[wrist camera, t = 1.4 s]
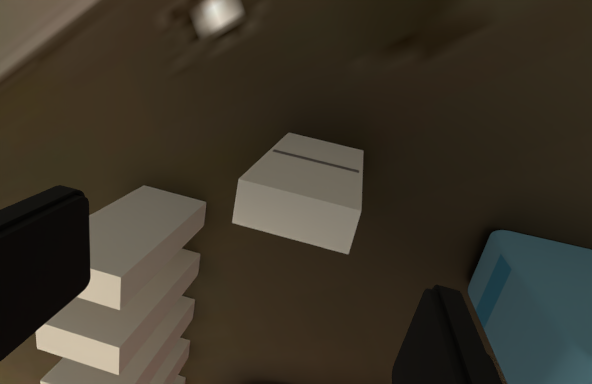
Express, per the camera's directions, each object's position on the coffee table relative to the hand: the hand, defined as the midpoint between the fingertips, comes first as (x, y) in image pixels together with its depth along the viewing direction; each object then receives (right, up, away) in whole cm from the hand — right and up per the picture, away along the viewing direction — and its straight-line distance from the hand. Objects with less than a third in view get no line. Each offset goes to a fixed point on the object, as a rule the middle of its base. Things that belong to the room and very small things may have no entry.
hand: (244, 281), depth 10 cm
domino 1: (-8, +1, +17) cm, 19 cm away
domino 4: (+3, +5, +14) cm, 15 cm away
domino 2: (-9, -3, +19) cm, 21 cm away
